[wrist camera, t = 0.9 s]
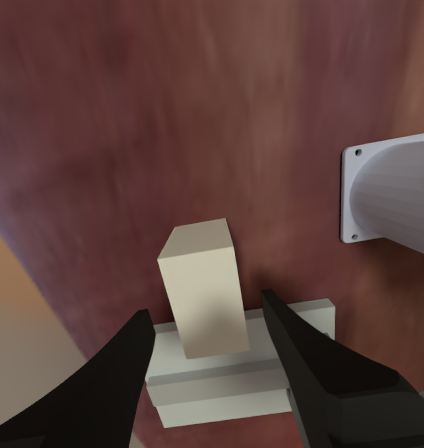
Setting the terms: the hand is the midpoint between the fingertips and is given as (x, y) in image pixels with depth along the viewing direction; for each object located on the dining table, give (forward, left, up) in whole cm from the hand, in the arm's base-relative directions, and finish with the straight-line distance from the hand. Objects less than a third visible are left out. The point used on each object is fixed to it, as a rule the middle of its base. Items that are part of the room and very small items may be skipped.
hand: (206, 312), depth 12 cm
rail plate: (-1, +13, -6) cm, 14 cm away
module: (0, 0, -6) cm, 6 cm away
